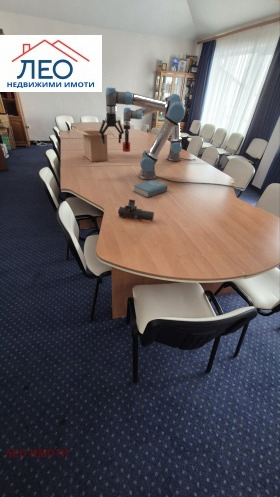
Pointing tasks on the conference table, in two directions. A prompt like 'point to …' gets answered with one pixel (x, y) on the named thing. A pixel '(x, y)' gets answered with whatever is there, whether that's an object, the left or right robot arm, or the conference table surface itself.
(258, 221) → the conference table surface
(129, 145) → the canister
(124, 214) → the laser sight
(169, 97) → the right robot arm
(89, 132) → the box
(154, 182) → the book
